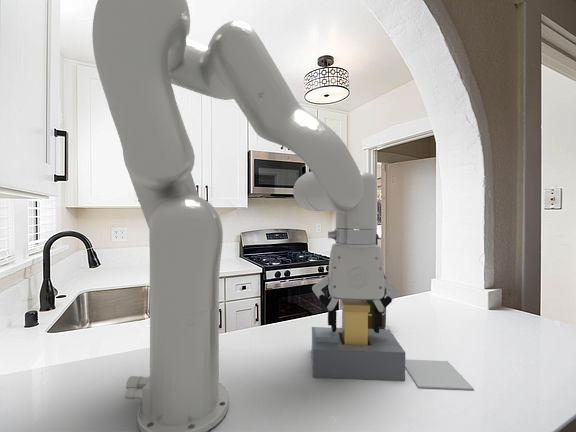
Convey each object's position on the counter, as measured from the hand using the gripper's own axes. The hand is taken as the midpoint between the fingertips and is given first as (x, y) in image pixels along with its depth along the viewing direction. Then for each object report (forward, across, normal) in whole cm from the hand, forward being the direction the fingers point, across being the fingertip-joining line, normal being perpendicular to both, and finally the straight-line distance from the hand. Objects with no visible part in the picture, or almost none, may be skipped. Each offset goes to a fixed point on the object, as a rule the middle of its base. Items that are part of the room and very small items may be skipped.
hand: (354, 329), depth 57 cm
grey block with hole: (+7, 0, 0) cm, 7 cm away
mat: (+7, +14, -2) cm, 16 cm away
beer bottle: (+7, +7, +18) cm, 21 cm away
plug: (+7, 0, 0) cm, 7 cm away
